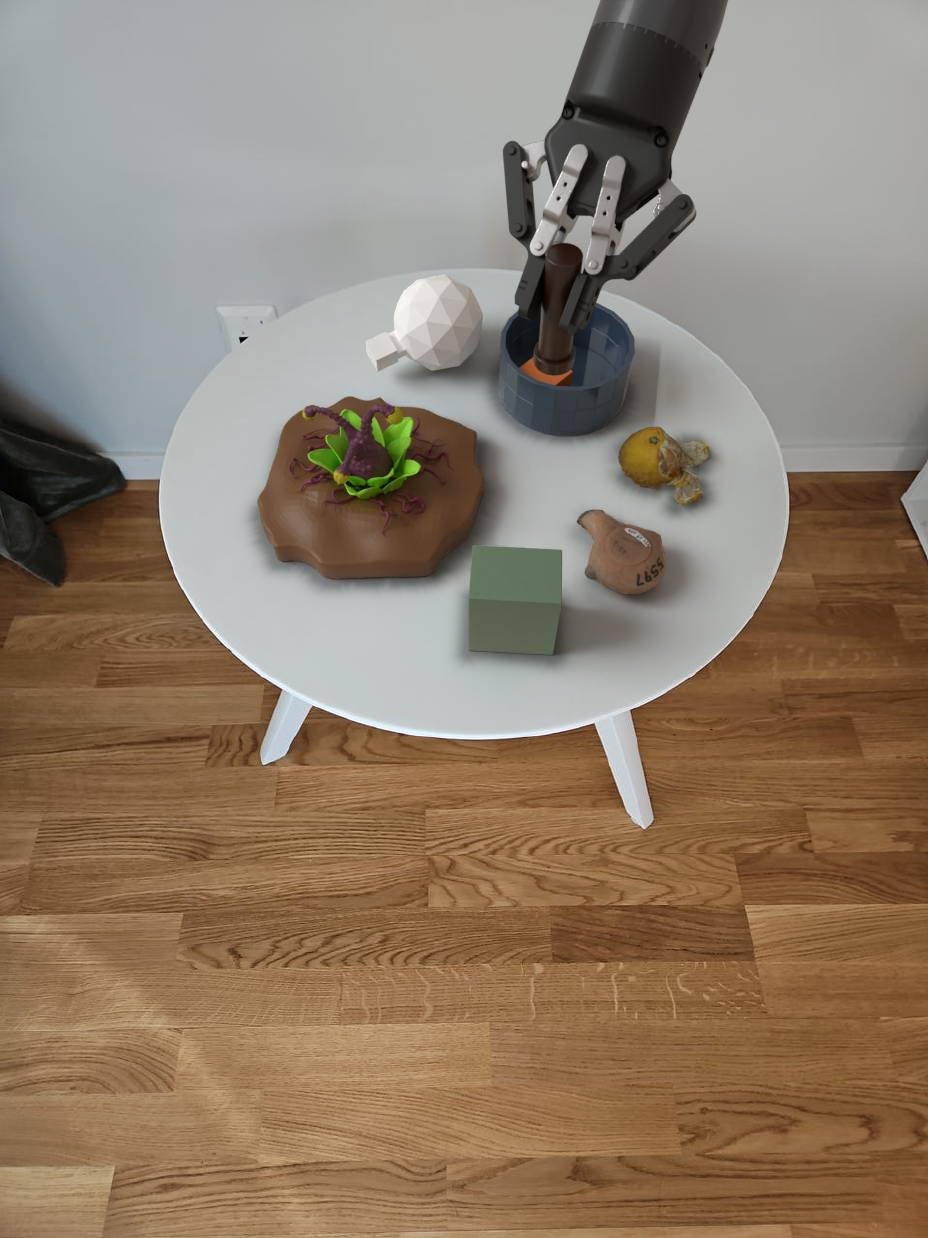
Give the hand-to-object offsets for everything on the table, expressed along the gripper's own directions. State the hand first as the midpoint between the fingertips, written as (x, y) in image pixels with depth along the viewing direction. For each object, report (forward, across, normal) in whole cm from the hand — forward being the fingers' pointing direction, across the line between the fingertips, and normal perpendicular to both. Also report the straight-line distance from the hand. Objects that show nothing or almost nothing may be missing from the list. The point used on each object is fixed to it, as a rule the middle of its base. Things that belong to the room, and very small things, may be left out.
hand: (546, 324), depth 60 cm
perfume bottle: (+6, -19, +27) cm, 34 cm away
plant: (+18, -14, +15) cm, 28 cm away
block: (+6, -6, +27) cm, 28 cm away
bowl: (+4, -5, +29) cm, 30 cm away
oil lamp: (+16, +8, +18) cm, 25 cm away
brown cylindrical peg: (+2, 0, +5) cm, 5 cm away
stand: (+23, +3, +10) cm, 26 cm away
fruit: (+8, +8, +26) cm, 28 cm away
